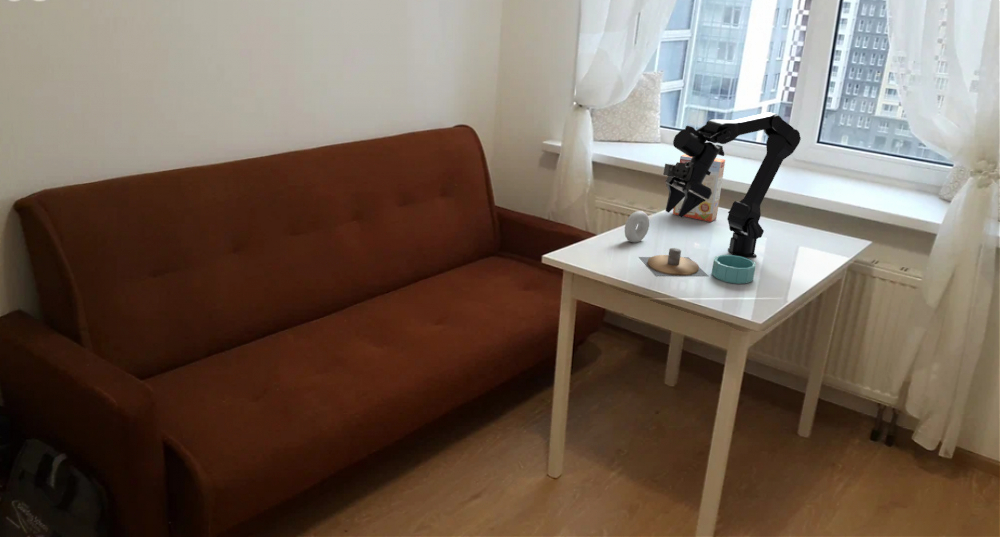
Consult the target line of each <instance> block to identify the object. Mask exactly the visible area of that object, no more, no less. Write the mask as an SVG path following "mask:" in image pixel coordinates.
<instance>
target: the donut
mask: <svg viewBox="0 0 1000 537" xmlns="http://www.w3.org/2000/svg"><path fill="white" fill-rule="evenodd" d="M649 227H650V219H649V216H648V214H647V213H646V212H644V211H643V210H636V211H634V212H632V213H631V214H630V215H629V216H628V217H627V219H626V222H625V226H624V236H625V238H626V240H627V241H628V242H631V243H639V242H641V241H642V240H643V239H644V238H645V237H646V236H647V233H648V232H649V230H650V229H649Z"/></svg>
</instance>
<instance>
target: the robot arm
mask: <svg viewBox="0 0 1000 537" xmlns="http://www.w3.org/2000/svg"><path fill="white" fill-rule="evenodd" d="M760 131H763V132H764V134H765V135H766V136H767V140H766V143H765V144H766V146H765V147H766V154H765V156H764V157H763V160H762V162H761V164H760V166H759V168H758V169H757V172H756V174H755V176H754V178H753V180H752V182H751V184H750V186H749V188H748V190H747V191H746V194H745V196H744V197H743V198H742V199H741V200H740V201H737V200H735V201H734V202H733V203H732V205H731V208H730V210H728V212H727V213H728V215H727V219H726V220H727V223H728V227H729V231H730V232H731V231H732V232H733V233H732V237H730V240H729V245H728V246H729V247H728V248H727V251H728V252H730V253H731V255H735V256H741V257H744V258H757V255H758V254H756V253H755V251H756V245H757V241H758V239H761V238H762V236H763V234H764V232H765V230H764V229H763V228H762V226H761V225H760V223H759V222H760V219H761V205H762V203H763V201H764V199H765V196H766V194H767V193H768V190H769V189H770V187H771V185H772V183H773V181H774V179H775V177H776V175H777V173H778V171H779V169H780V167H781V165H782V163H783V162H784V160H785V159H786V158H788V157H789V156H791V155H792V154H793V153H794V152H795V151H796V149H797V147H798V146H799V145H800V143H801V139H802V138H801V134H800V131H799V130H798V129H795V128H794V126H792V125H790V124H789V123H788V122H786V121H785V120H783V118H782V117H781V116H780V115H779V114H778V113H774V112H769V111H767V112H766V111H765V112H762V113H760V114H756V115H755V114H754V115H750V116H746V117H742V118H737V119H733V120H732V119H722V118H721V119H718V118H717V119H715V118H714V119H713V118H712V119H709V120H708V121H706V123H705V124H704V125H703V126H701V127H699V128H697V129H695V127H693V126H690V125H685V128H684V129H681V130H680V131H679V132H678V133H677V134H676V135H674V137H673V140H672V145H673V147H674V148H675V149H677V150H679V151H680V152H681V153H683V154H686V155H688V156H689V157H692V158H691V160H690V162H685V163H680V161H679V162H676V163H675V164H674V163H673V164H672V163H664V168H663V169H664V170H663V176H666V177H667V178H666V180H665V182H664V183H666V187H667V190H668V196H667V201H666V205H665V212H666V213H670V212H671V211H673V208H674V207H675V206H676V205H677V204H678V203H679V202H680V201H681V200H682V199H683V198H684V197H685V199H684V201H683V204H682V206H681V209H680V211H679V214H678V215H677V217H679V218H683V217H684V215H686V214H687V213H688V212H690V211H691V210H692V209H694V208H695V207H696V206H698V205H699V204H701V203H702V202H705V201H706V200H705V199H708V200H709V198H710V196H711V195H712V191H711V189H710V188H708V187H707V186H705V185H703V184H702V182H703V180H704V179H705V177H706V175H710V173H711V172H709V169H710V168H711V166H712V164H713V162H714V160H715V158H717V157H718V156H722V157H724V156H725V151H724V149H723V146H724V145H726V144H728V143H730V142H733V141H735V140H736V139H737V137H740V136H742V135H746V134H751V133H755V132H760ZM716 143H717V144H716ZM715 144H716V145H715ZM689 190H690V191H689ZM682 191H683V192H682ZM704 198H705V199H704Z"/></svg>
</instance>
